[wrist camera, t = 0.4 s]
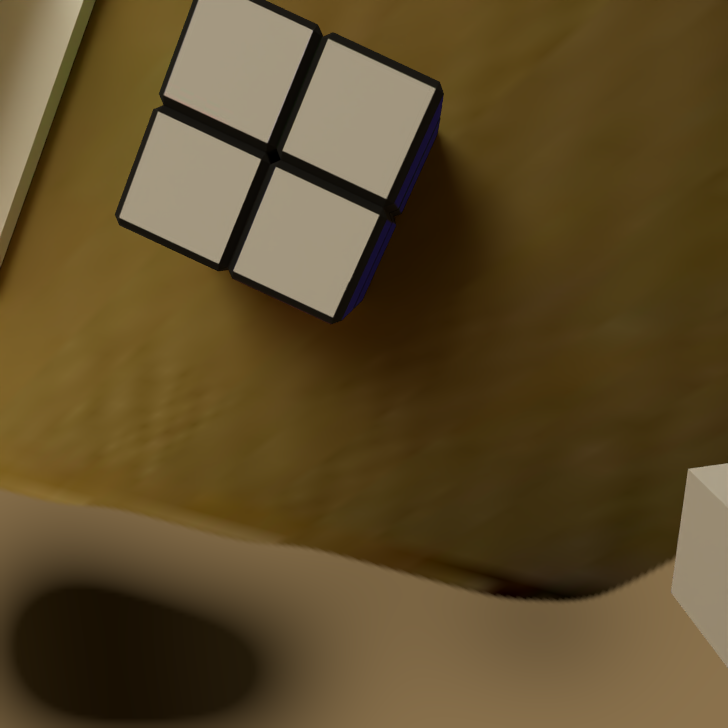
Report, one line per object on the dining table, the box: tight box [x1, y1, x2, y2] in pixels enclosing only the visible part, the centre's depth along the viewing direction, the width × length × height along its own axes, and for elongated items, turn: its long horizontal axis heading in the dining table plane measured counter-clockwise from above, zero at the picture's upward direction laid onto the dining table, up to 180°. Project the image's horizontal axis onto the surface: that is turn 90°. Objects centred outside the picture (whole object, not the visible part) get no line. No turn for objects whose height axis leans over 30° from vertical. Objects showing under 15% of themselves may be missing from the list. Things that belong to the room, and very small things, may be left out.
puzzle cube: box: [115, 0, 444, 324], centre depth 30 cm, size 10×10×10 cm
